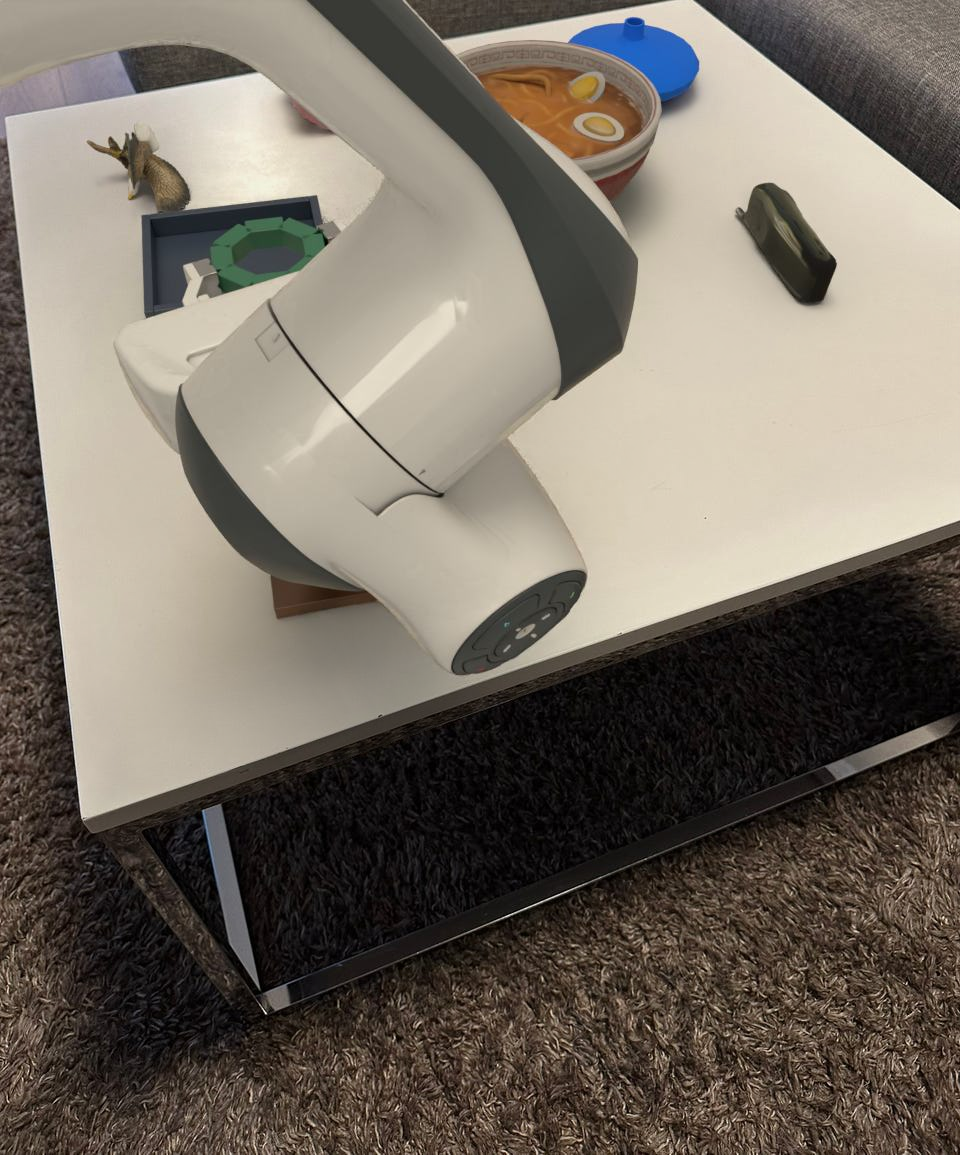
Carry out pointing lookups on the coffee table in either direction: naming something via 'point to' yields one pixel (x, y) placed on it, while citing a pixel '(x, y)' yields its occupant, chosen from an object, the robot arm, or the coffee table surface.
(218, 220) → the tray
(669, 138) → the coffee table surface
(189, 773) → the coffee table surface
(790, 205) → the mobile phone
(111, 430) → the coffee table surface
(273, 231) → the ring
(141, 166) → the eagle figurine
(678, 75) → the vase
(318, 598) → the peg stand
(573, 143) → the bowl
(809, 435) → the coffee table surface
